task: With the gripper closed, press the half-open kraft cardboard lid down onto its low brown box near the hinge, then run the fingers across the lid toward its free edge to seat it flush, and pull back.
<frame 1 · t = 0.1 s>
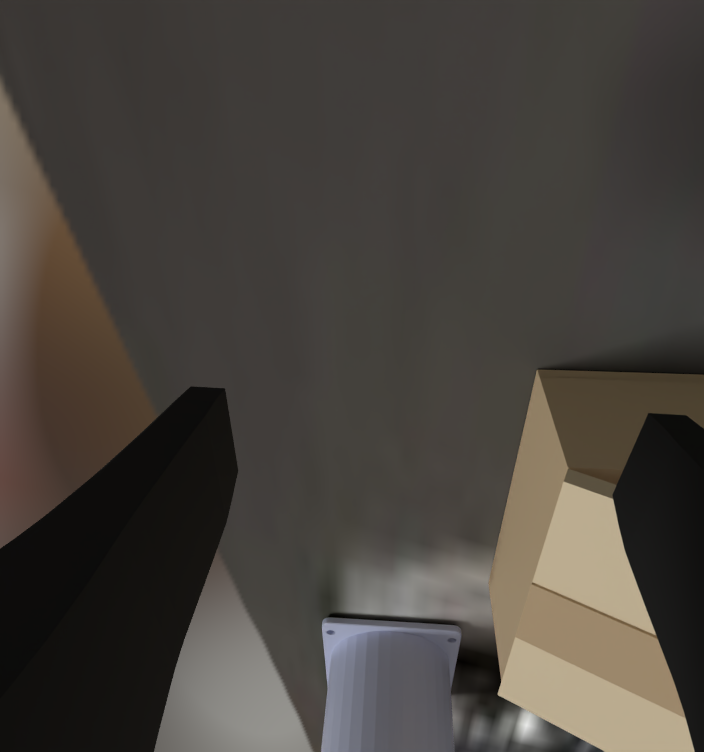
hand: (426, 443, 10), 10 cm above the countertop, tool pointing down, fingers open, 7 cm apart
cardboard box: (681, 502, 25), on the countertop
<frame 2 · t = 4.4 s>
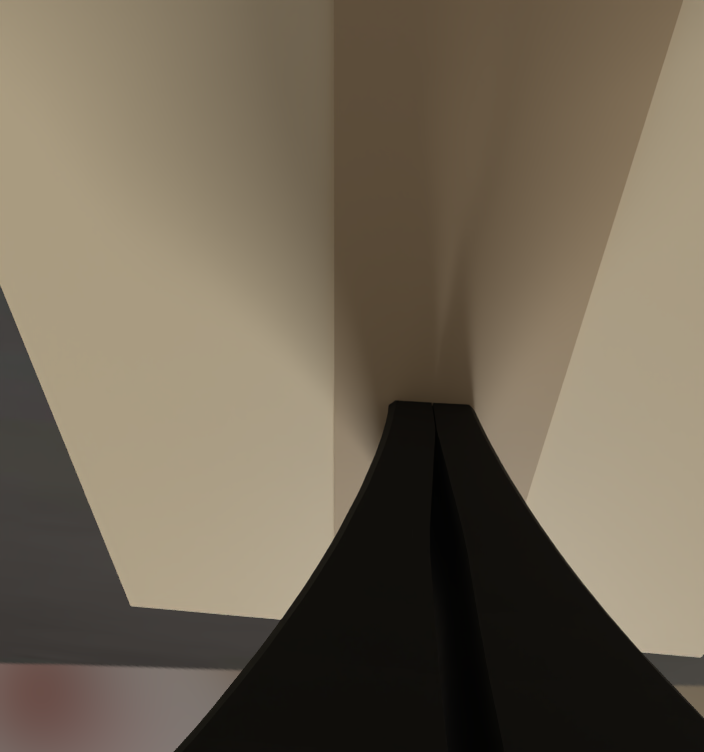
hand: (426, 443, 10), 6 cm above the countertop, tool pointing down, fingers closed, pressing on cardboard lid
cardboard lid: (442, 385, 9), point 5 cm above the countertop, hinge at -0.3°, touching cardboard box, gripper
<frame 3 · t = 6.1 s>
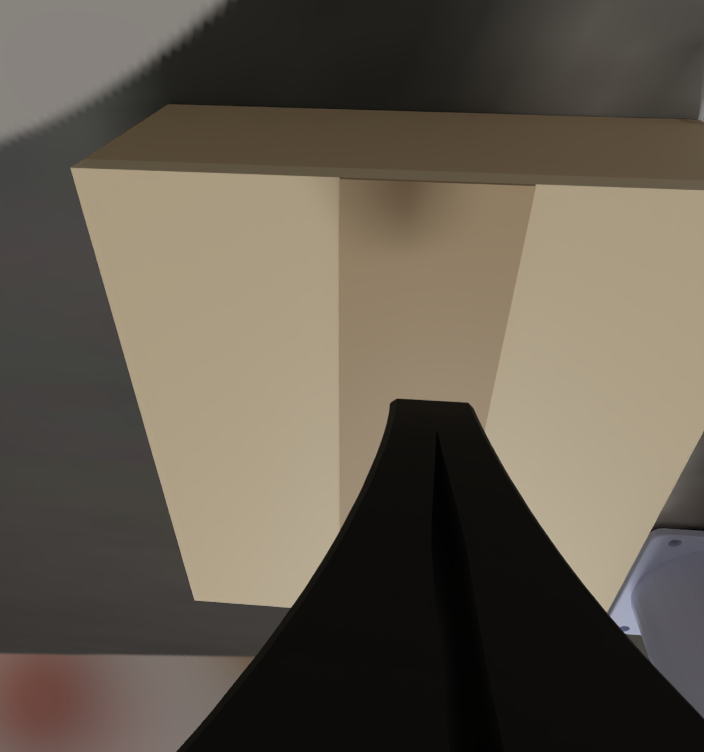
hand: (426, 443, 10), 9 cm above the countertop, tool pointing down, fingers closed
cardboard lid: (407, 457, 15), point 5 cm above the countertop, hinge at -0.3°, touching cardboard box
cardboard box: (406, 345, 19), on the countertop
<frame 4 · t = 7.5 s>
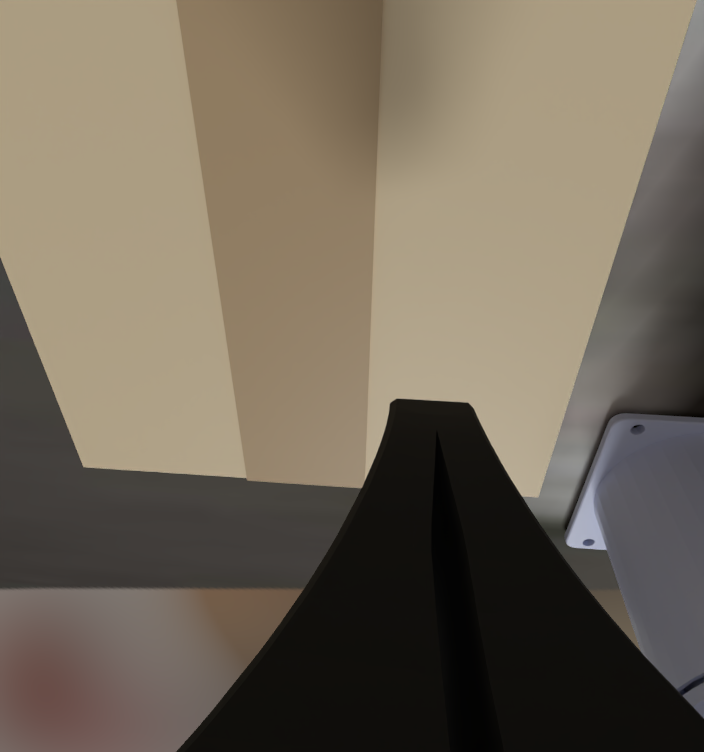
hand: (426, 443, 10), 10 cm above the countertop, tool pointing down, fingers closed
cardboard lid: (295, 249, 13), point 5 cm above the countertop, hinge at -0.3°, touching cardboard box
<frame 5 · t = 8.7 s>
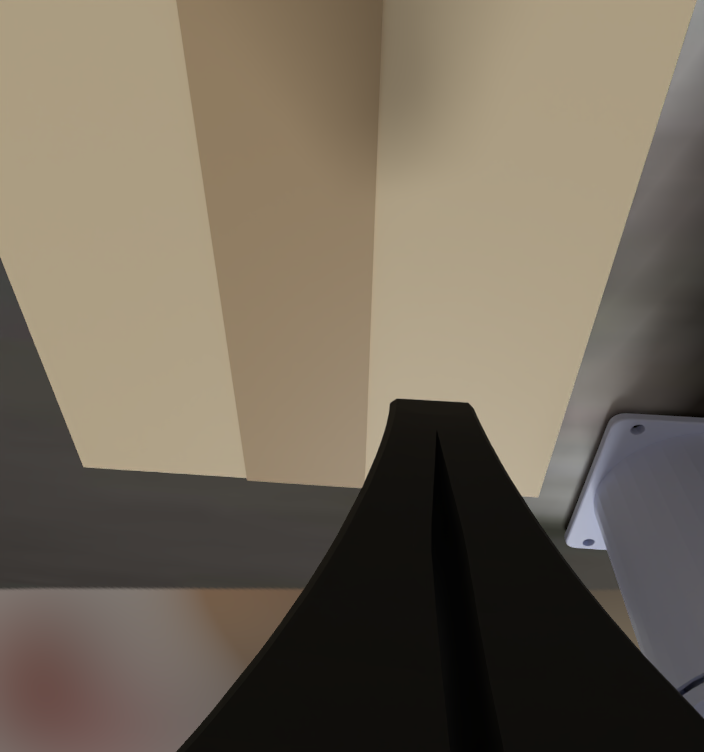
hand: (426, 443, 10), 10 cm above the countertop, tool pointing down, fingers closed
cardboard lid: (295, 249, 13), point 5 cm above the countertop, hinge at -0.3°, touching cardboard box
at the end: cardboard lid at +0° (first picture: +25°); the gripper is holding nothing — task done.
